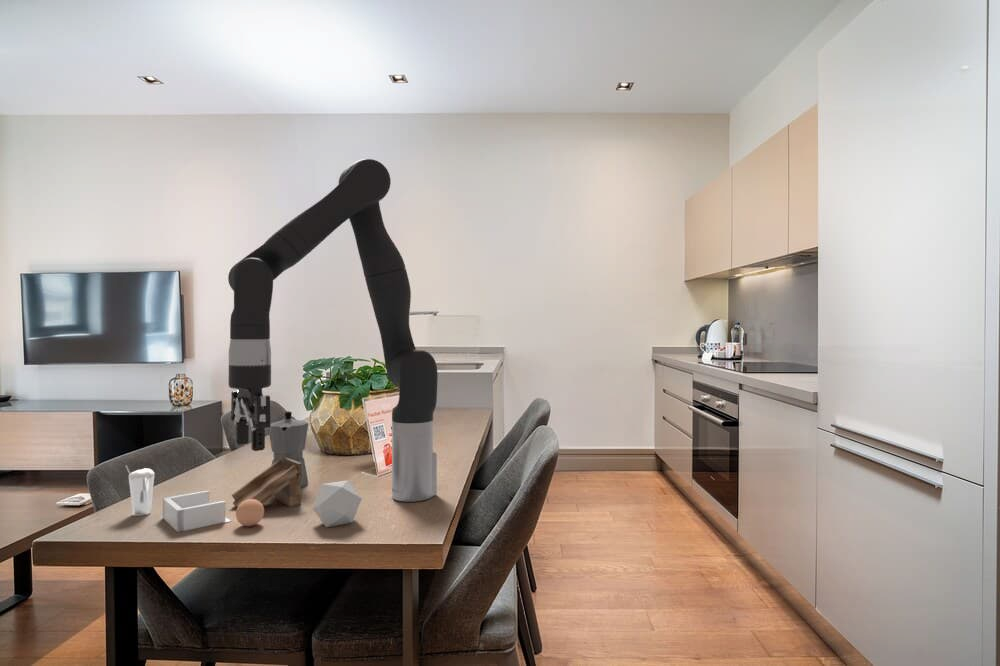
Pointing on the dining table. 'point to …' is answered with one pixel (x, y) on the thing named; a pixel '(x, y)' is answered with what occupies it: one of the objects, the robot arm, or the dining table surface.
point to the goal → (193, 511)
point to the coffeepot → (289, 441)
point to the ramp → (274, 484)
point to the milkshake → (141, 491)
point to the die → (336, 503)
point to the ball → (250, 512)
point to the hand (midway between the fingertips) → (249, 447)
